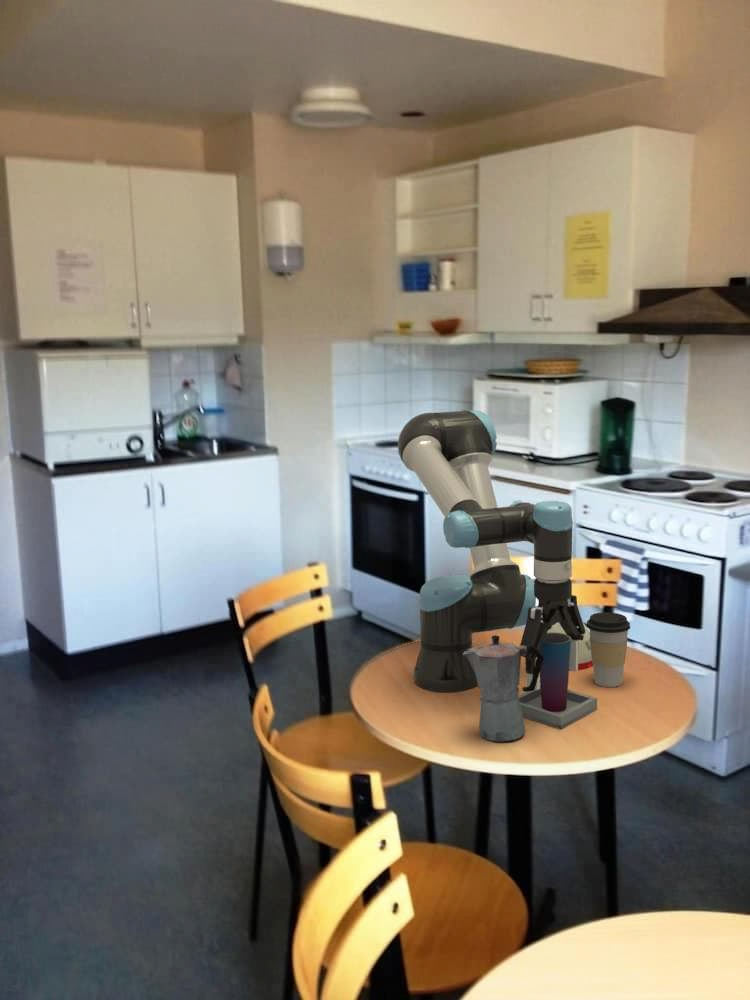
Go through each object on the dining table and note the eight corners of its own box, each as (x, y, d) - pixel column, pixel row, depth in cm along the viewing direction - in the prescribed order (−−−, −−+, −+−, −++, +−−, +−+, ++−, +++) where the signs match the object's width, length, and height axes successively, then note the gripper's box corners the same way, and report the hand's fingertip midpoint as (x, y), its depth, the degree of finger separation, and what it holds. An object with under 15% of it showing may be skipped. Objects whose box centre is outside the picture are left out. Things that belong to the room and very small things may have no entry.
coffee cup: (631, 691, 203) (632, 624, 200) (586, 689, 204) (587, 623, 202) (627, 675, 212) (628, 611, 209) (585, 674, 213) (585, 610, 211)
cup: (544, 698, 198) (544, 630, 195) (575, 704, 194) (575, 635, 192) (532, 710, 192) (532, 640, 189) (564, 716, 189) (564, 645, 186)
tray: (508, 712, 194) (508, 700, 193) (545, 693, 203) (545, 683, 202) (561, 729, 184) (561, 717, 184) (597, 709, 193) (597, 698, 193)
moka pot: (463, 723, 189) (461, 628, 185) (539, 722, 188) (539, 627, 184) (465, 744, 179) (464, 644, 176) (546, 743, 179) (546, 642, 175)
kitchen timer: (601, 655, 226) (602, 595, 223) (588, 674, 214) (589, 610, 211) (545, 648, 232) (545, 589, 229) (529, 666, 219) (529, 605, 217)
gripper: (531, 595, 177) (531, 700, 181) (602, 569, 194) (601, 666, 198) (499, 588, 183) (500, 691, 186) (572, 563, 200) (571, 658, 203)
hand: (552, 678), depth 192 cm, fingers open, 13 cm apart
